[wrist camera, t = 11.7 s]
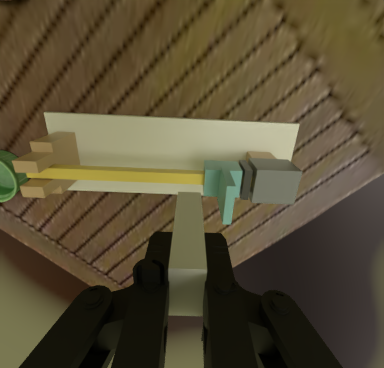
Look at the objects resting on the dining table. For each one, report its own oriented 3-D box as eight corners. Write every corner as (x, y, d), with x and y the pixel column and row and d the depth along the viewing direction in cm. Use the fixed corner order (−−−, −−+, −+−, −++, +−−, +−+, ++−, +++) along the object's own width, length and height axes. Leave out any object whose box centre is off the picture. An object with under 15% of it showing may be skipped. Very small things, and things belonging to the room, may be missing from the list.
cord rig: (47, 111, 38) (-12, 124, 27) (296, 122, 39) (338, 140, 27) (64, 186, 44) (20, 223, 33) (279, 195, 44) (308, 233, 33)
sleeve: (204, 156, 34) (208, 185, 25) (237, 158, 34) (254, 187, 25) (202, 187, 36) (205, 223, 27) (233, 188, 36) (247, 224, 27)
